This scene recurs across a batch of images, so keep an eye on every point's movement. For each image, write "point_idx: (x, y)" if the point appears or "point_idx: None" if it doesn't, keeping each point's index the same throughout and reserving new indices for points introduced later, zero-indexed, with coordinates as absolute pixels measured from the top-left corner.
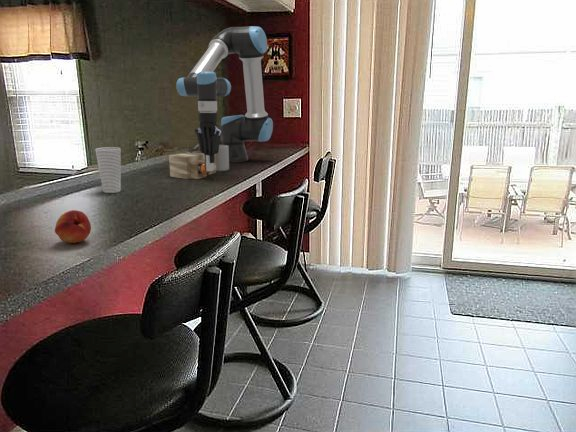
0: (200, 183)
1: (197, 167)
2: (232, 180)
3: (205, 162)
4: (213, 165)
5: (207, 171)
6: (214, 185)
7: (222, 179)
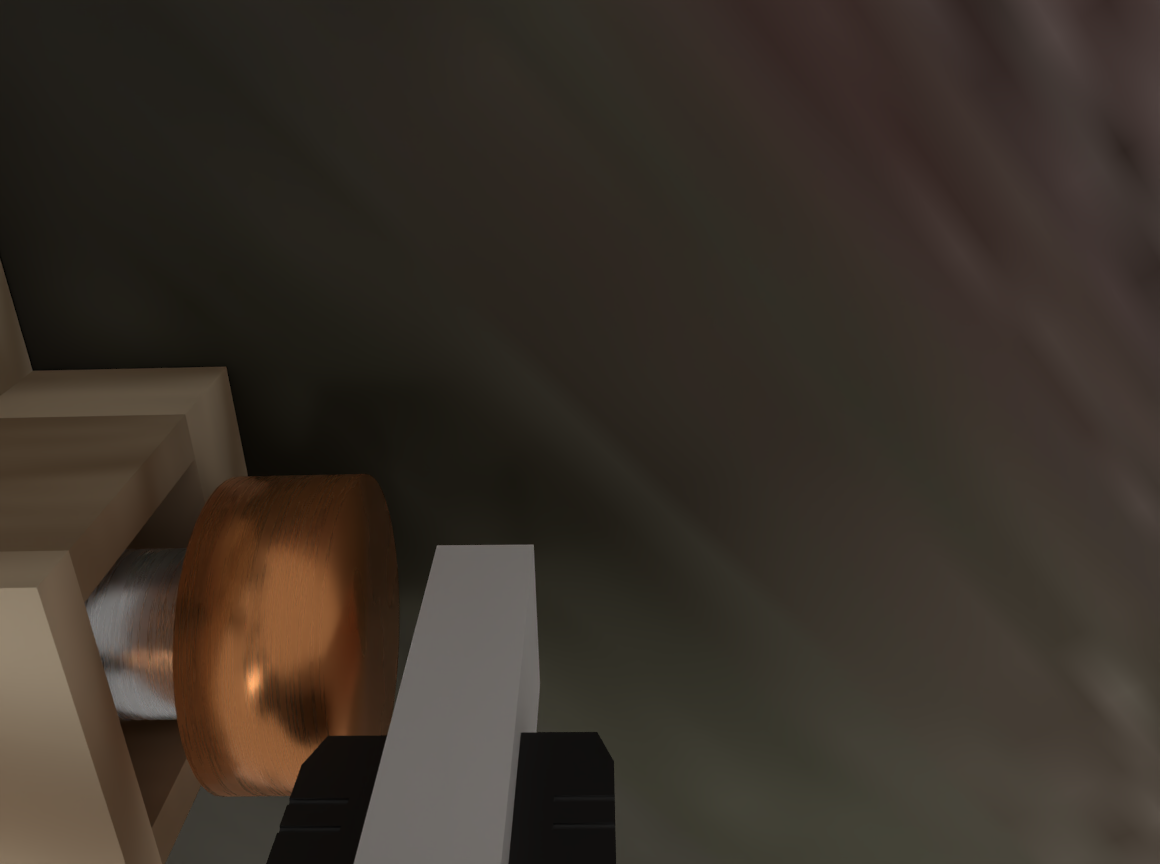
0: (650, 837)
1: (188, 783)
2: (1020, 339)
3: (67, 578)
4: (523, 627)
5: (375, 575)
6: (970, 832)
7: (742, 377)
